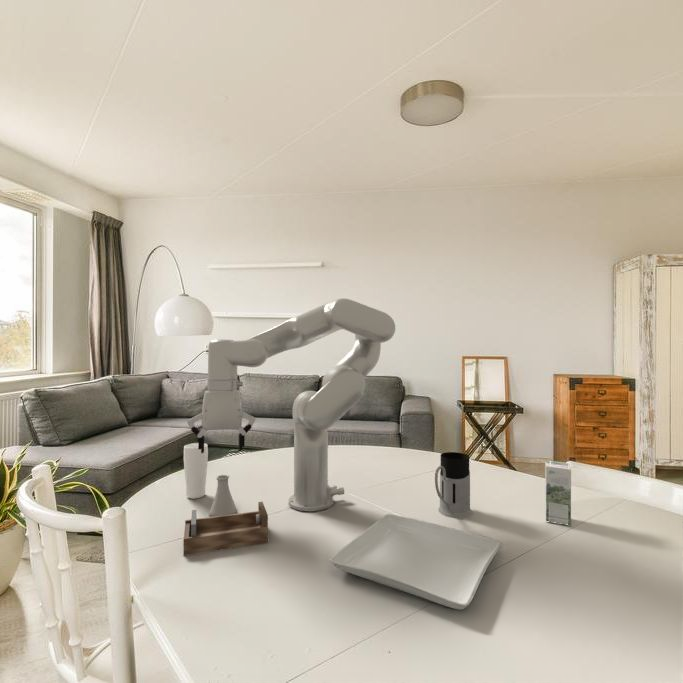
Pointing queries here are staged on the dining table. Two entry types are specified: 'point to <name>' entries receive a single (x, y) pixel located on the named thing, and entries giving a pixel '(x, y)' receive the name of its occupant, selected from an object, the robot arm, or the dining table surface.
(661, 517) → the dining table surface
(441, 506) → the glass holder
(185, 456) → the drinking glass
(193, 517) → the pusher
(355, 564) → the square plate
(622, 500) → the dining table surface
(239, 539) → the wooden tray
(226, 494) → the flask
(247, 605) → the dining table surface
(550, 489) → the syrup box
